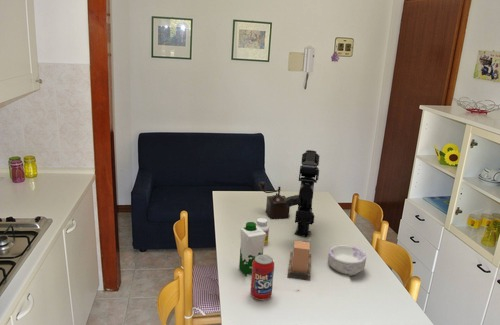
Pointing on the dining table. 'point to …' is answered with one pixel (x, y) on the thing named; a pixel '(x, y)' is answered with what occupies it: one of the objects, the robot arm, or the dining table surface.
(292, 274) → the brown wooden tray
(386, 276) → the dining table surface
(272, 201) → the brown manual coffee grinder
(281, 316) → the dining table surface
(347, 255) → the paper bowls
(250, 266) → the milk carton
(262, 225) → the supplement bottle
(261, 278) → the soda can
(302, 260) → the block
